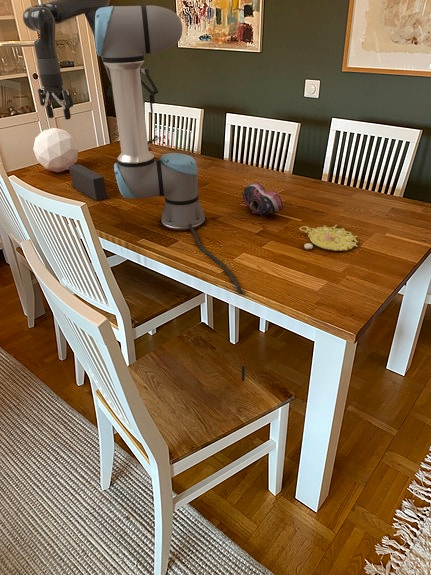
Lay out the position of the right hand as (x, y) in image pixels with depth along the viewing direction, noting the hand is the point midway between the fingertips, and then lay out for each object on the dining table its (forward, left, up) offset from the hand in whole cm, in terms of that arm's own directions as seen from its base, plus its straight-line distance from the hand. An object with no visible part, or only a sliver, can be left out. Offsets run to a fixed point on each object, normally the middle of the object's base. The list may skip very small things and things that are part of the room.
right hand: (135, 113), depth 180 cm
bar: (-10, +22, -28) cm, 37 cm away
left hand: (-8, +29, +1) cm, 30 cm away
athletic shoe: (-45, -41, -28) cm, 67 cm away
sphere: (+23, +39, -28) cm, 53 cm away
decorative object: (-73, -58, -28) cm, 97 cm away
